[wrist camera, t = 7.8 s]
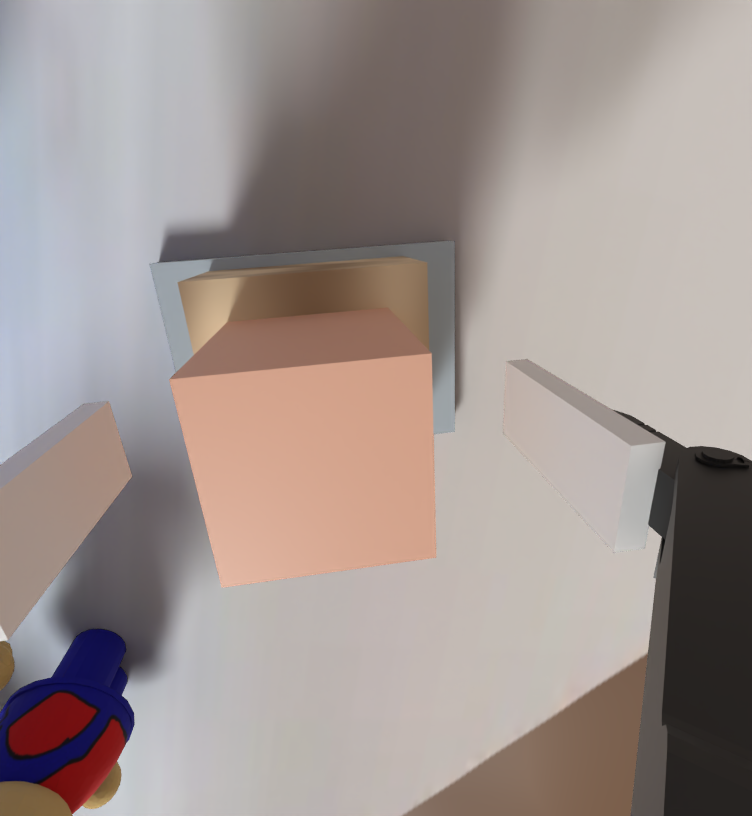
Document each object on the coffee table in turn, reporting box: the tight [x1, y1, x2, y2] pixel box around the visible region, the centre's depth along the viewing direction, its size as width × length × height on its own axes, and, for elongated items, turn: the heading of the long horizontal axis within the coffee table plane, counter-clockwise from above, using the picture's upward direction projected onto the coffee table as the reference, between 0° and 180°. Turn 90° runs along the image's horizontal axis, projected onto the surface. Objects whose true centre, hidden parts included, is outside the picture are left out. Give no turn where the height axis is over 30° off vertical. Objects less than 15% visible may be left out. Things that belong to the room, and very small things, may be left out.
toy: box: [0, 629, 134, 816], centre depth 22 cm, size 11×9×15 cm
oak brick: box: [177, 256, 429, 354], centre depth 20 cm, size 9×9×5 cm
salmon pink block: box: [169, 308, 436, 588], centre depth 15 cm, size 6×6×7 cm
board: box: [150, 241, 455, 434], centre depth 23 cm, size 14×10×1 cm
